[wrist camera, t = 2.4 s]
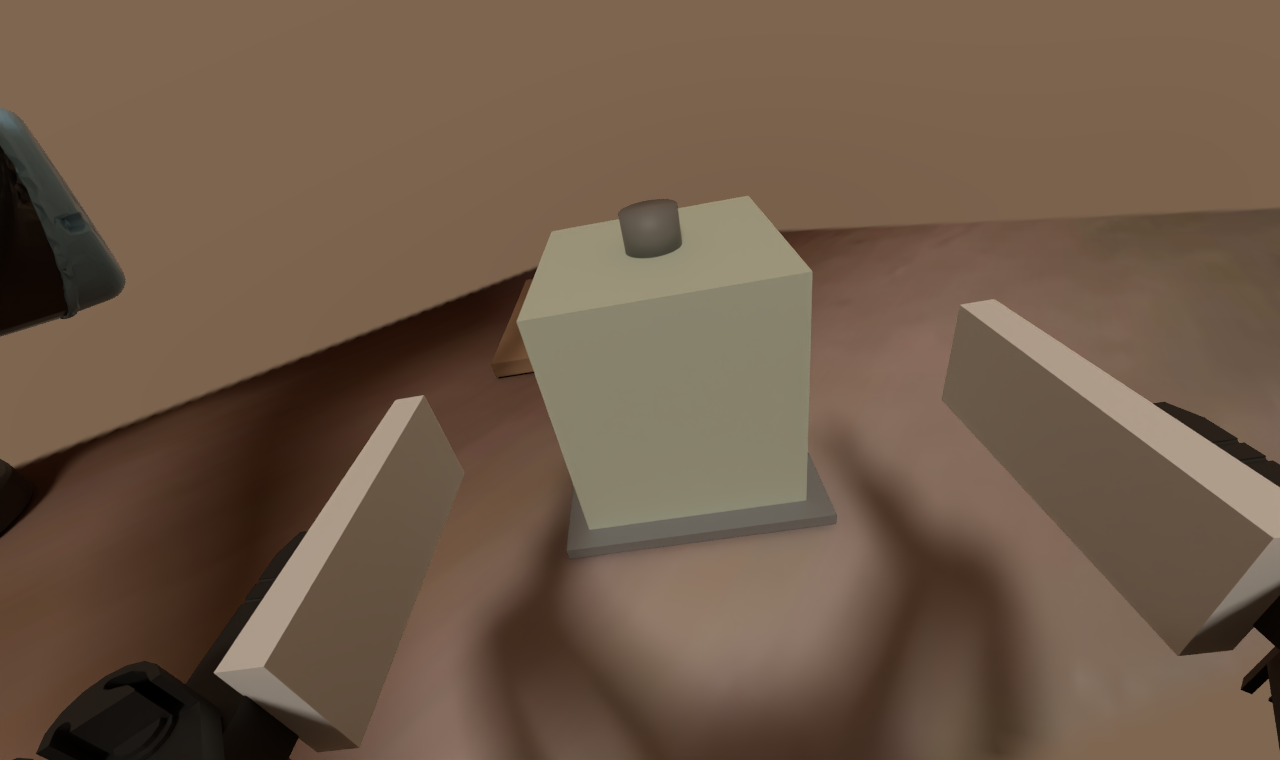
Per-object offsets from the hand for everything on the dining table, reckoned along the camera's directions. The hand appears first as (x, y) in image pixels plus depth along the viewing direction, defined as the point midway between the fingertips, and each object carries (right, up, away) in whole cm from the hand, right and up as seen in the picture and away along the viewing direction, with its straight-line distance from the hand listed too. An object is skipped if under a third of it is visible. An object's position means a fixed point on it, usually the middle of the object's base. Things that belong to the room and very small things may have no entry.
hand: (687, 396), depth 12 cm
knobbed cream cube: (+1, -3, +14) cm, 15 cm away
